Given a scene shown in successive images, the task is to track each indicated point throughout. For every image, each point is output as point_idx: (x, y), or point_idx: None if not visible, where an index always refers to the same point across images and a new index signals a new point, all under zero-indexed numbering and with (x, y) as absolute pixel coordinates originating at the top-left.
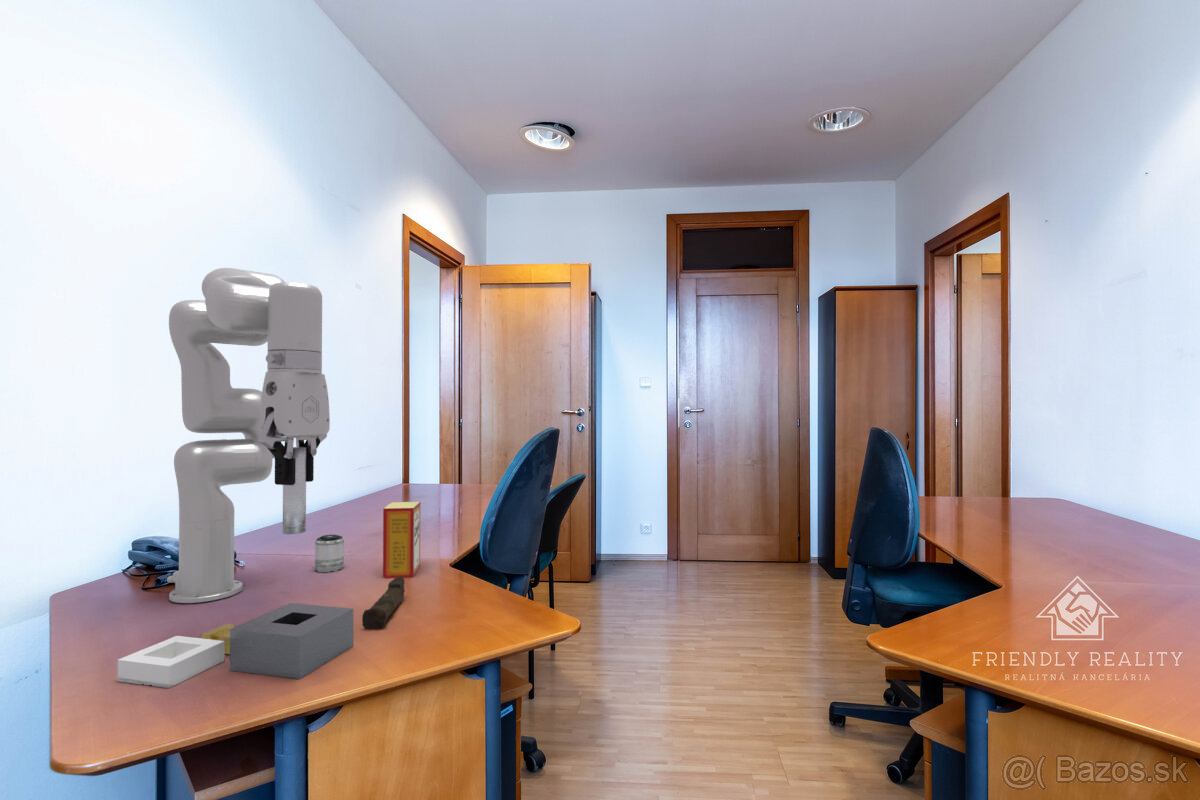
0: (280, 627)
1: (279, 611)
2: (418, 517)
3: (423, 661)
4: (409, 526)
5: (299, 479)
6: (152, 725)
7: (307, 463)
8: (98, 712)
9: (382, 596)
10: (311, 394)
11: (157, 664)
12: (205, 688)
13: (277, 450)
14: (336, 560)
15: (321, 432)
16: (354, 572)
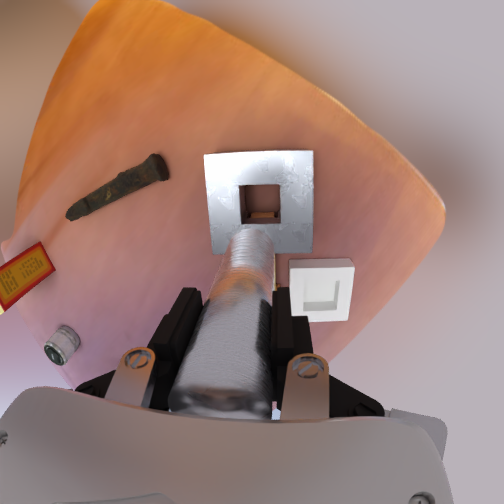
0: (292, 198)
1: None
2: None
3: (228, 52)
4: (3, 270)
5: (250, 295)
6: (403, 213)
7: (185, 335)
8: (390, 272)
9: (113, 196)
10: None
11: (352, 280)
12: (344, 226)
13: (363, 395)
14: (63, 333)
15: (77, 401)
16: (61, 309)
